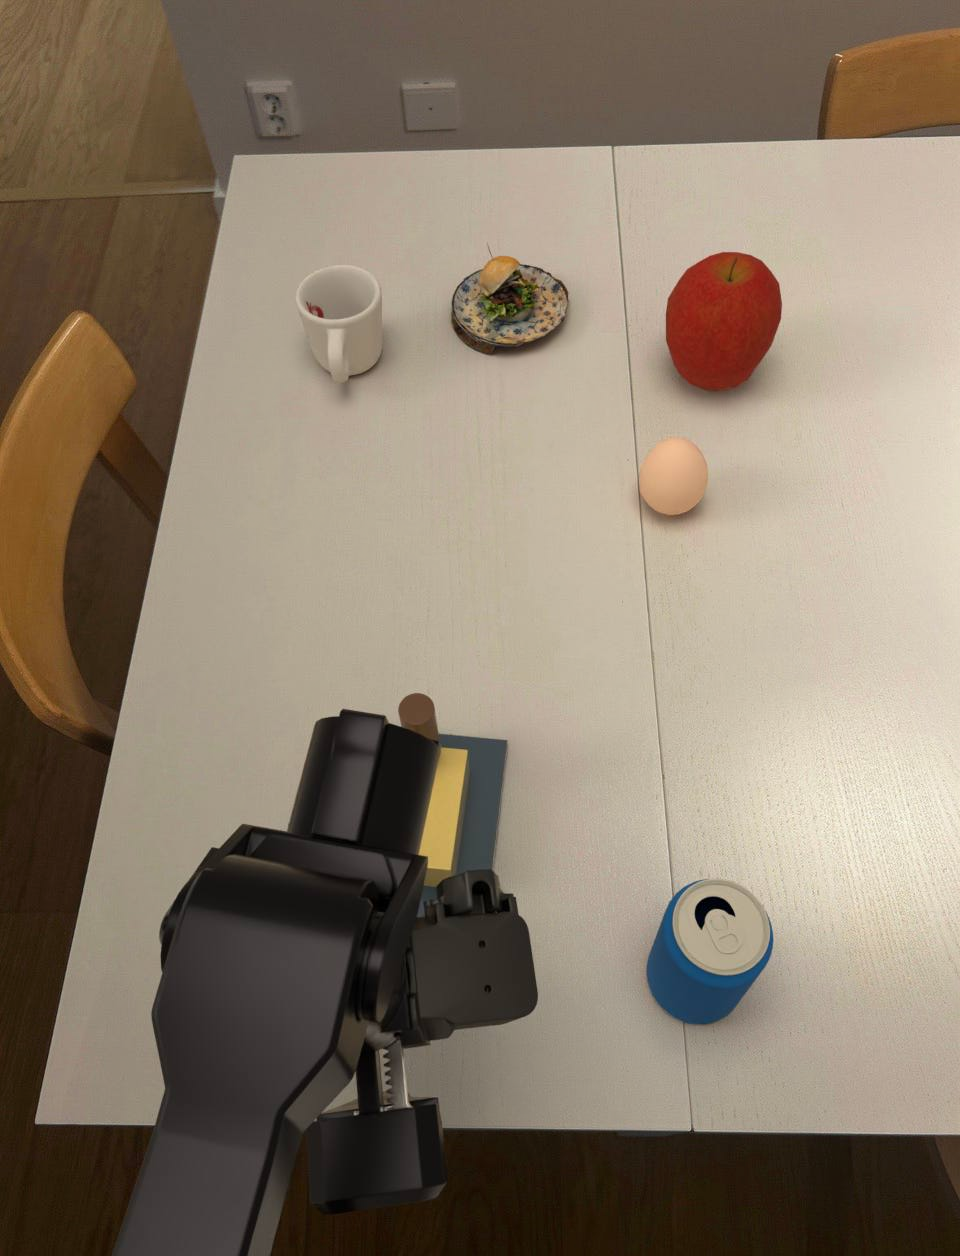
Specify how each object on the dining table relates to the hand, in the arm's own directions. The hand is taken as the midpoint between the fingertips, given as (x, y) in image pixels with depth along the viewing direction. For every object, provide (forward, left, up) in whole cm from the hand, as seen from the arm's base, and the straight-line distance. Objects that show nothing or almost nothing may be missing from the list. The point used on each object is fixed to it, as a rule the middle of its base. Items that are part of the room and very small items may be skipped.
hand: (387, 1006), depth 60 cm
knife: (+12, +16, -11) cm, 23 cm away
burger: (+45, +54, -12) cm, 71 cm away
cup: (+28, +57, -12) cm, 65 cm away
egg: (+43, +26, -12) cm, 51 cm away
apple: (+56, +36, -12) cm, 67 cm away
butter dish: (+8, +12, -12) cm, 19 cm away
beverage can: (+19, -7, -12) cm, 23 cm away
